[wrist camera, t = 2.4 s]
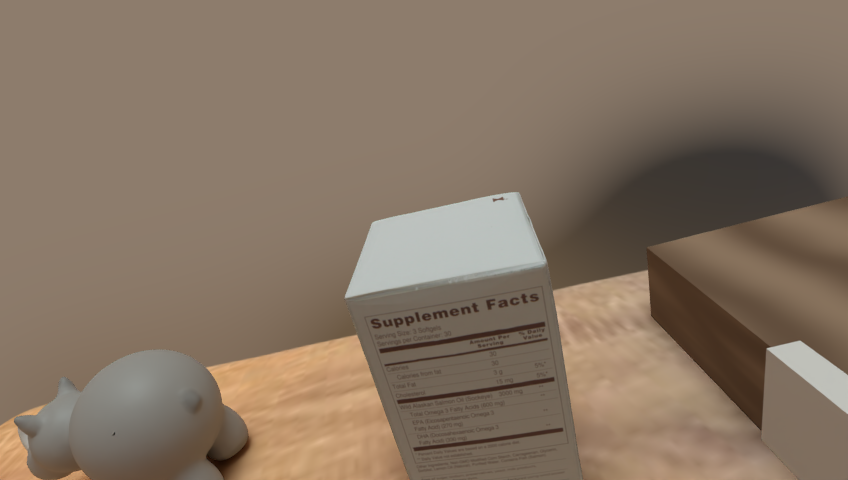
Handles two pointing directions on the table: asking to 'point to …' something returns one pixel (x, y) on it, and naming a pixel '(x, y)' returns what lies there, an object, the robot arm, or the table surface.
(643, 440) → the table surface
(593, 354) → the table surface
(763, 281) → the walnut stand
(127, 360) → the round bodied animal figurine
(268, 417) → the table surface
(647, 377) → the table surface
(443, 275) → the supplement box
